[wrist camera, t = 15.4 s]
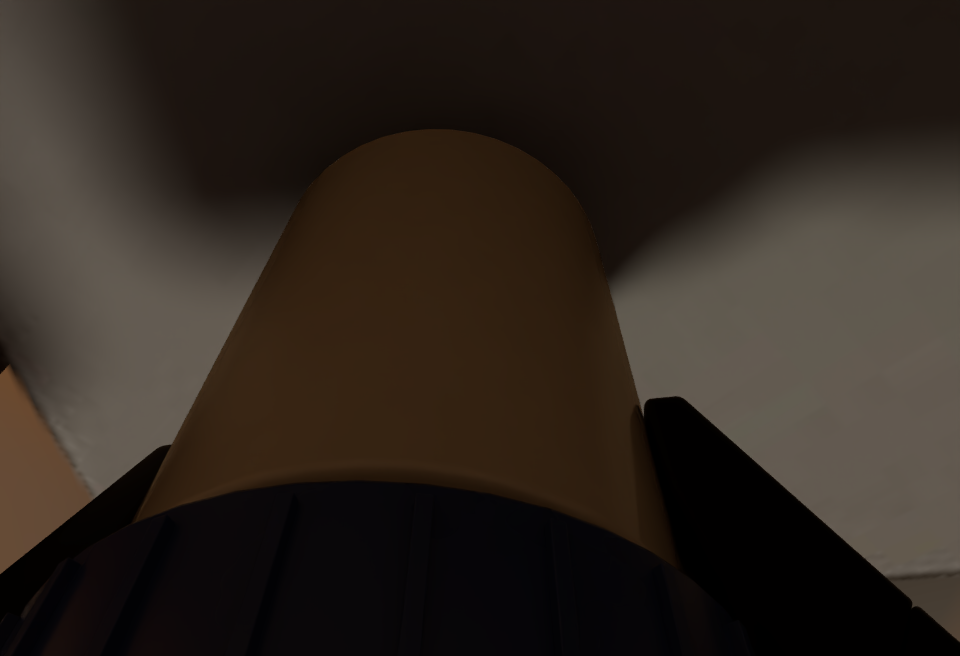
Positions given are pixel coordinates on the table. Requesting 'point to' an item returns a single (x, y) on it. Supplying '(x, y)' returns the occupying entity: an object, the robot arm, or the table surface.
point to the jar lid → (368, 582)
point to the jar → (430, 346)
